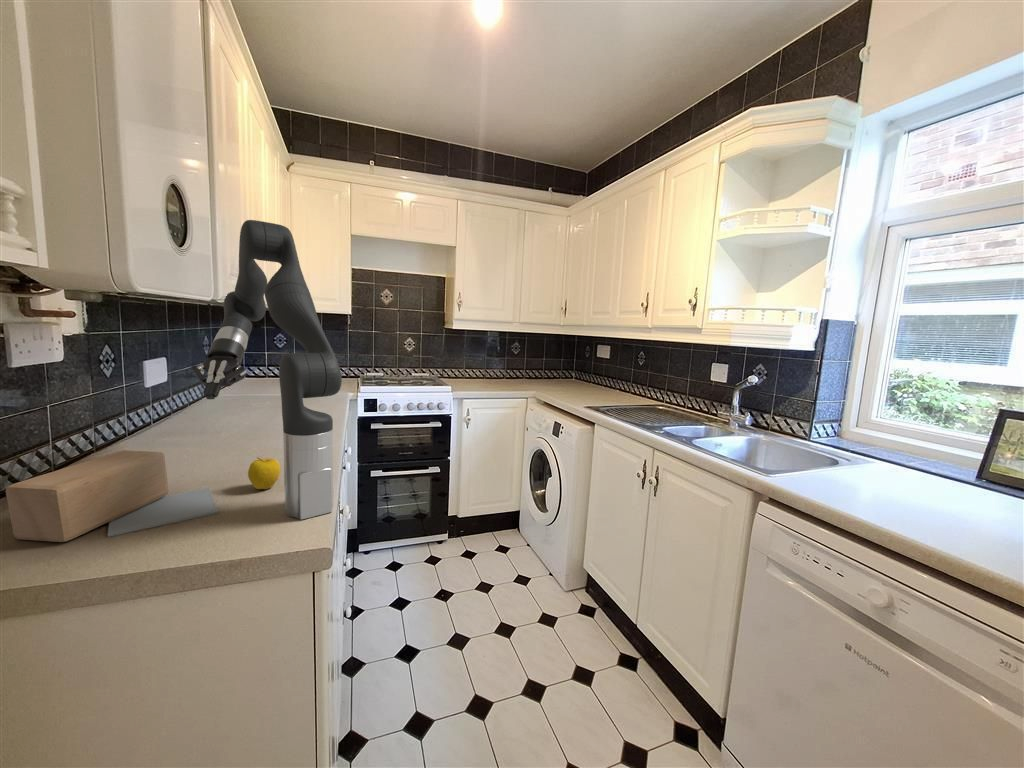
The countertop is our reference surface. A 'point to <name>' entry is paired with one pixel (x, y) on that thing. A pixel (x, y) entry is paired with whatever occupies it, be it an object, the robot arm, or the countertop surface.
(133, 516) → the mat
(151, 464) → the block
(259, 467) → the apple
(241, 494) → the countertop surface
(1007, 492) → the countertop surface
